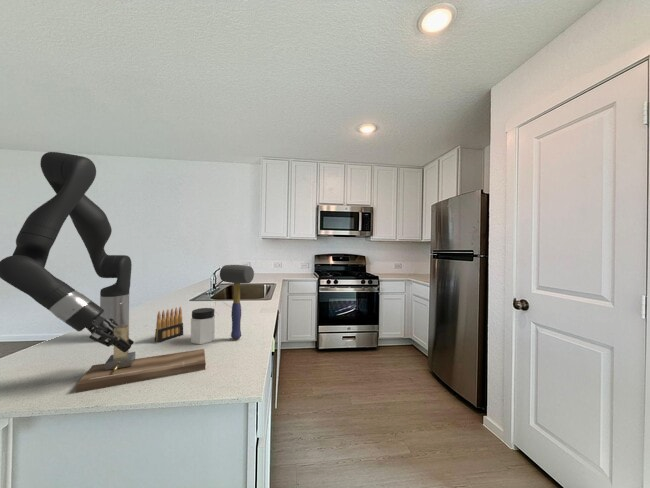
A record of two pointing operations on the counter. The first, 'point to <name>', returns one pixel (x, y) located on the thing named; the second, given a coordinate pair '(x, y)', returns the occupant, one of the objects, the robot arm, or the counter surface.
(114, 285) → the robot arm
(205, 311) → the jar
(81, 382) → the walnut board
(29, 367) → the counter surface
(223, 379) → the counter surface
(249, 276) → the rubber mallet
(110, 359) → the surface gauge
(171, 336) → the ammunition clip
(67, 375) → the counter surface
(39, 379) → the counter surface
